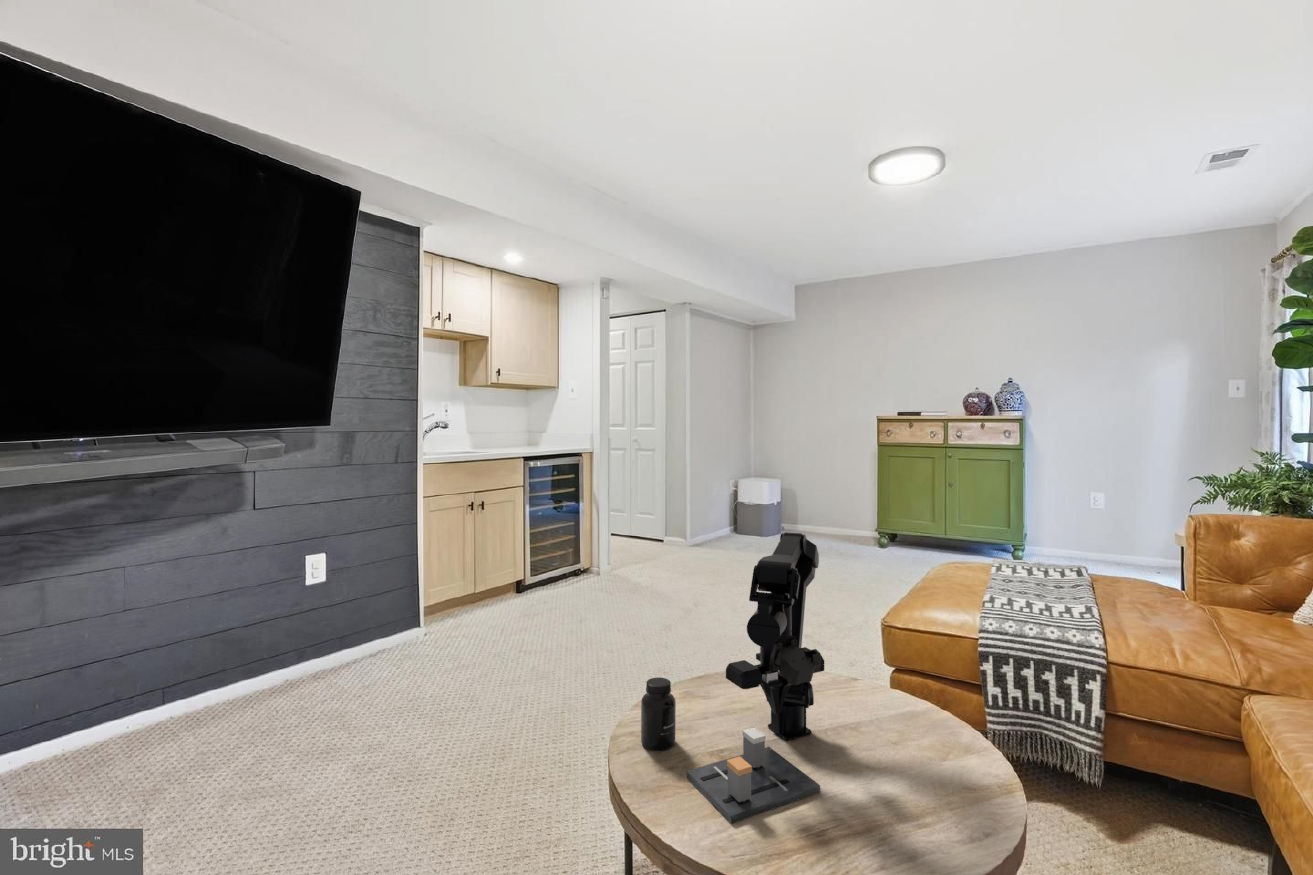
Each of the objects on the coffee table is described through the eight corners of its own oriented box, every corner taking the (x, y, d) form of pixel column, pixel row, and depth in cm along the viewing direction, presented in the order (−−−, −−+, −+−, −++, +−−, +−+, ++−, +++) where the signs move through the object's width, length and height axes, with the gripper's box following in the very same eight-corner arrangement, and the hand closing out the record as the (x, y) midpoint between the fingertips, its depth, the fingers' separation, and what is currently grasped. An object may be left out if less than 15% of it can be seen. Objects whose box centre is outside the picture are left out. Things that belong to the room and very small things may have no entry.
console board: (768, 752, 113) (768, 745, 113) (820, 792, 100) (820, 784, 100) (686, 777, 105) (686, 770, 105) (731, 823, 92) (730, 815, 92)
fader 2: (754, 755, 109) (754, 727, 109) (765, 764, 106) (765, 735, 106) (742, 759, 108) (742, 730, 108) (753, 768, 105) (753, 738, 105)
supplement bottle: (672, 753, 113) (672, 690, 113) (637, 749, 114) (637, 687, 114) (678, 735, 119) (678, 676, 119) (645, 732, 121) (645, 673, 121)
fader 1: (740, 787, 99) (739, 756, 99) (752, 798, 96) (751, 766, 96) (726, 791, 98) (726, 760, 98) (738, 802, 95) (738, 770, 95)
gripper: (760, 651, 98) (761, 745, 98) (845, 633, 106) (846, 720, 106) (723, 631, 108) (724, 717, 108) (804, 616, 116) (804, 696, 116)
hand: (776, 713), depth 109 cm, fingers closed
